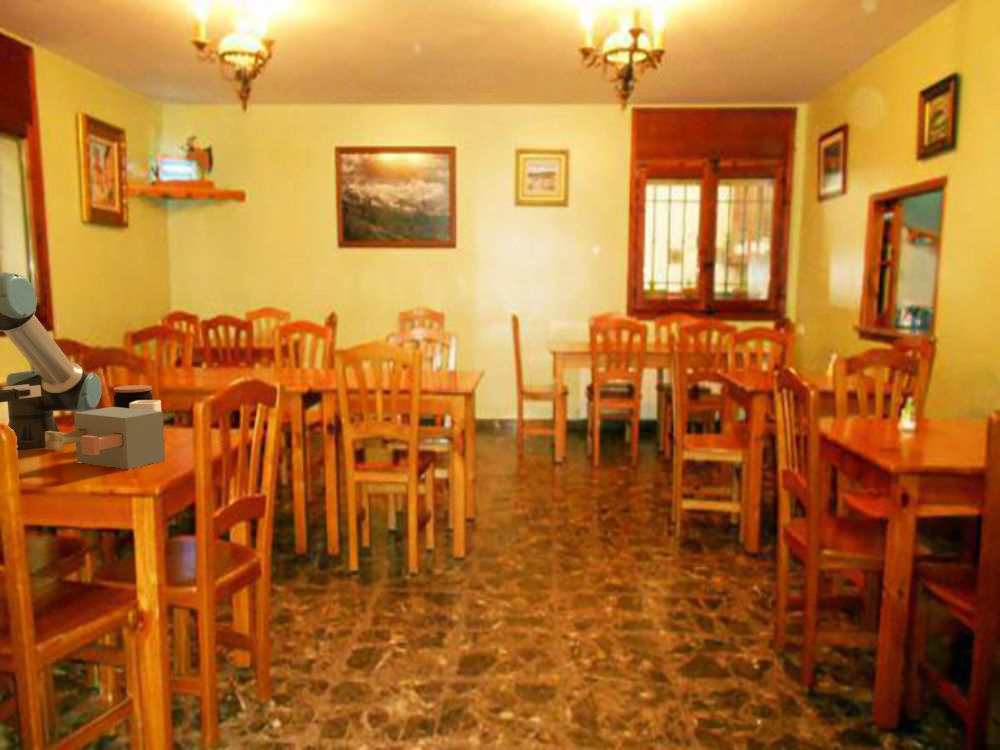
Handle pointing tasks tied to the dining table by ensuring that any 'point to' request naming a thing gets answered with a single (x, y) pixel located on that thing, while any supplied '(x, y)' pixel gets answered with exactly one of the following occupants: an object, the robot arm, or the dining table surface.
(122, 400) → the coffee jar
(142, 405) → the cup
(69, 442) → the pale plunger
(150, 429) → the wall block
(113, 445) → the terracotta plunger
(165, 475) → the dining table surface
